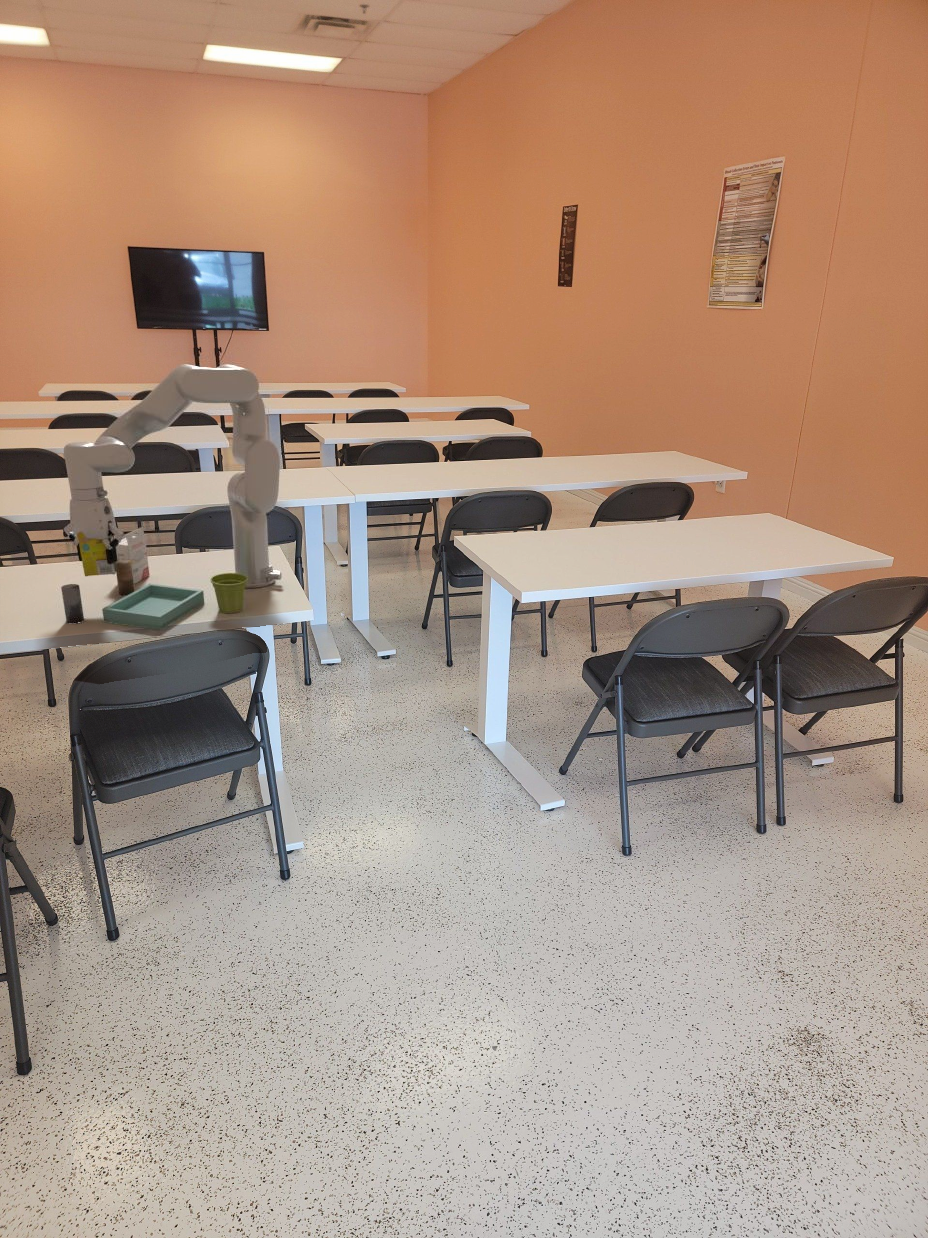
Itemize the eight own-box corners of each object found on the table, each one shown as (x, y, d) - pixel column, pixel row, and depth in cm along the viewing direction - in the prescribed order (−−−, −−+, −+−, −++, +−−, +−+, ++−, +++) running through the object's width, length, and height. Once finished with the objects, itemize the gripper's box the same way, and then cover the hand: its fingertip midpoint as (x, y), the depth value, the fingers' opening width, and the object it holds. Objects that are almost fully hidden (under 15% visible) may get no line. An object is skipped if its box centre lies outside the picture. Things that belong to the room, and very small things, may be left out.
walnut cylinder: (137, 591, 219) (134, 560, 215) (128, 596, 215) (125, 564, 212) (124, 590, 219) (121, 558, 216) (115, 594, 216) (111, 563, 212)
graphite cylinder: (87, 618, 200) (82, 585, 196) (77, 624, 196) (71, 590, 193) (73, 616, 200) (68, 583, 197) (62, 622, 197) (57, 588, 193)
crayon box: (116, 570, 207) (110, 527, 203) (115, 574, 204) (108, 530, 200) (85, 572, 205) (78, 529, 201) (84, 576, 202) (76, 532, 198)
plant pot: (233, 600, 216) (231, 570, 212) (257, 609, 211) (255, 578, 208) (205, 610, 209) (202, 578, 205) (228, 619, 204) (226, 587, 200)
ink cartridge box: (134, 573, 232) (128, 524, 227) (150, 575, 231) (144, 526, 226) (117, 583, 224) (110, 532, 219) (133, 585, 223) (127, 534, 218)
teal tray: (204, 602, 213) (203, 590, 212) (161, 630, 195) (160, 616, 194) (150, 595, 216) (149, 583, 215) (103, 622, 198) (102, 608, 197)
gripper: (128, 492, 198) (137, 560, 205) (67, 487, 202) (78, 553, 209) (109, 499, 192) (119, 569, 198) (46, 494, 195) (58, 562, 202)
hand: (98, 560), depth 203 cm, fingers closed on crayon box, 7 cm apart
